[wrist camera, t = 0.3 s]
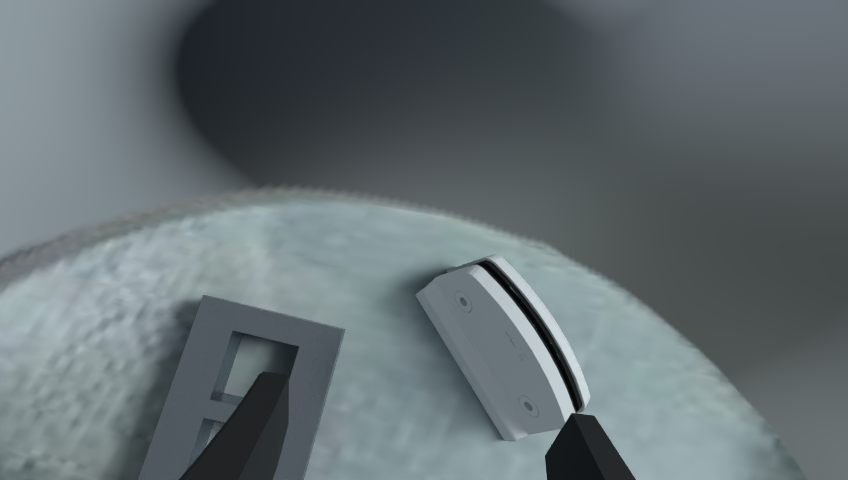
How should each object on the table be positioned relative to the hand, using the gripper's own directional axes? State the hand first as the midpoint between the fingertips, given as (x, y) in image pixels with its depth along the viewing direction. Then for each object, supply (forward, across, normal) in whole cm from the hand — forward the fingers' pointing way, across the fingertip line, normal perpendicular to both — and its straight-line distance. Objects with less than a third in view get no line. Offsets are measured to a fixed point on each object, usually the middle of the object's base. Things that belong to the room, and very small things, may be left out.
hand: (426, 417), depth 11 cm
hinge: (+23, -10, +21) cm, 33 cm away
